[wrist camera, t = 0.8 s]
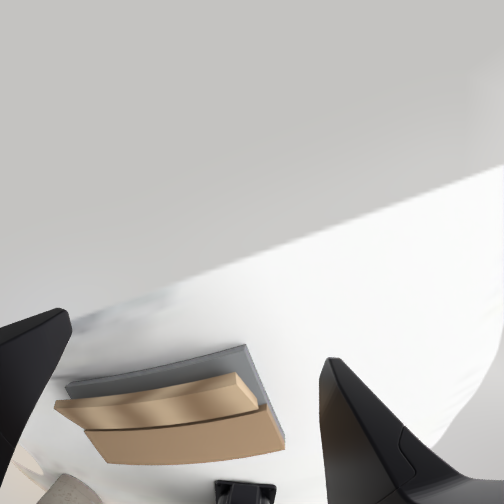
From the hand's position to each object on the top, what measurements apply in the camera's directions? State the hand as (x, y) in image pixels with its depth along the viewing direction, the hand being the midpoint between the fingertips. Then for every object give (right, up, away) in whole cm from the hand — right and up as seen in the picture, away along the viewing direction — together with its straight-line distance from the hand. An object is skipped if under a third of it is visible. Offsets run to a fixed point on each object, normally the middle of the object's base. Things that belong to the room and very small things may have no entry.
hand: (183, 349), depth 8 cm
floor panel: (-6, -12, +14) cm, 19 cm away
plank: (-7, -10, +11) cm, 17 cm away
